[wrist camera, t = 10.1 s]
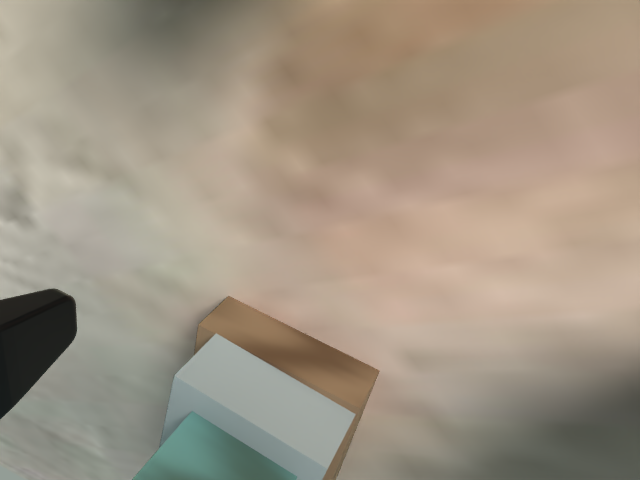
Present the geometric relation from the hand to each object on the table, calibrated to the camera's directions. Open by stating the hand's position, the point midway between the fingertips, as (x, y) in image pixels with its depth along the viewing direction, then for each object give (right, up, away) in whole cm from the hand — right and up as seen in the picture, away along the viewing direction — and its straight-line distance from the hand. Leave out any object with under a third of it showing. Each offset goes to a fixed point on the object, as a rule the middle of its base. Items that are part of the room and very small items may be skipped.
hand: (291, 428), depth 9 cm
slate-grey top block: (-2, -5, +17) cm, 18 cm away
